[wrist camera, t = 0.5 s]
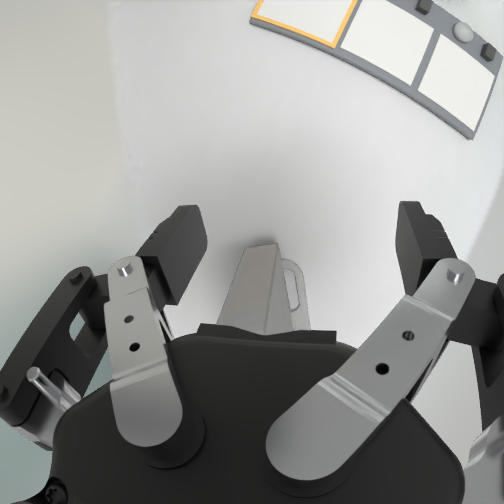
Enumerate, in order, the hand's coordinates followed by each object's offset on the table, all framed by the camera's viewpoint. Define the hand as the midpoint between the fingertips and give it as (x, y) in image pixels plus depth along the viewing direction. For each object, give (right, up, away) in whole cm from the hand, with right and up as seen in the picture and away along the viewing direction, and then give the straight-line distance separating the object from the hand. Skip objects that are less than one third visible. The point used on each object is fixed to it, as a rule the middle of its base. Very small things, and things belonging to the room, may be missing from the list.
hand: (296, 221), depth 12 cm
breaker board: (+15, +25, +15) cm, 32 cm away
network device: (+2, -11, +32) cm, 34 cm away
